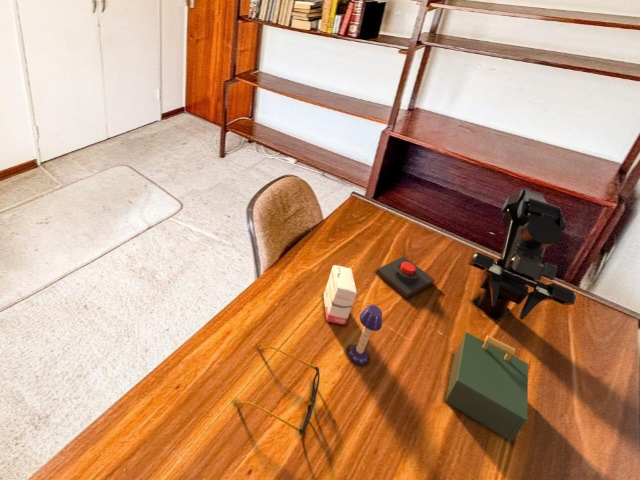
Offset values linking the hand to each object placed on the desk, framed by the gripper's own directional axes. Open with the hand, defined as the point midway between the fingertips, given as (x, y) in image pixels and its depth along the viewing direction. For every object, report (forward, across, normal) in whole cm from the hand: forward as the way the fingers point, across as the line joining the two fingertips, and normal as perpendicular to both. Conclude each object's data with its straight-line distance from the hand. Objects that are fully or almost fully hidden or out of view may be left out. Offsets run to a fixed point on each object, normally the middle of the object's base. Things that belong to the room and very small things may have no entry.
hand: (507, 312), depth 90 cm
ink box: (+19, -33, +1) cm, 38 cm away
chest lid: (+14, 0, -4) cm, 14 cm away
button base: (+2, -21, +18) cm, 27 cm away
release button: (-1, -21, +15) cm, 26 cm away
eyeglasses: (+39, -34, -20) cm, 56 cm away
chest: (+19, 0, 0) cm, 19 cm away
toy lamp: (+26, -24, -6) cm, 35 cm away
